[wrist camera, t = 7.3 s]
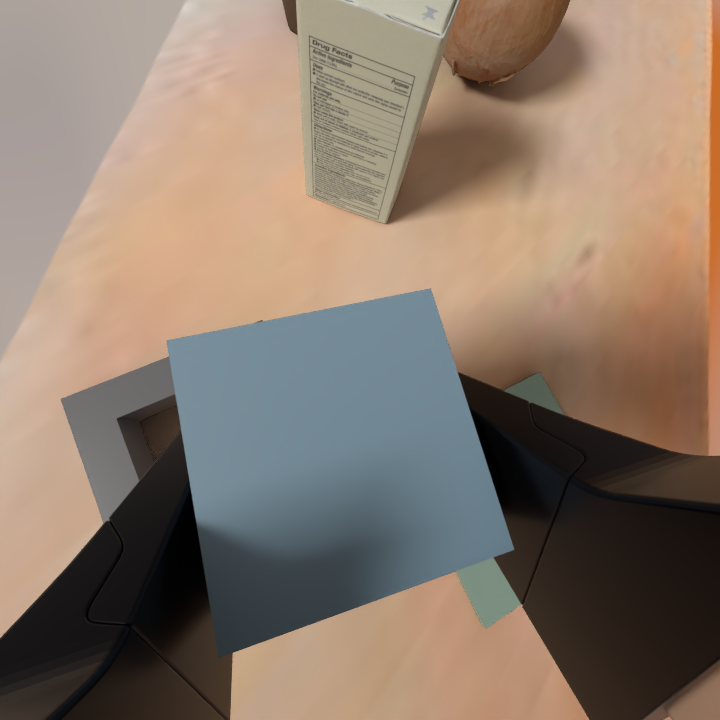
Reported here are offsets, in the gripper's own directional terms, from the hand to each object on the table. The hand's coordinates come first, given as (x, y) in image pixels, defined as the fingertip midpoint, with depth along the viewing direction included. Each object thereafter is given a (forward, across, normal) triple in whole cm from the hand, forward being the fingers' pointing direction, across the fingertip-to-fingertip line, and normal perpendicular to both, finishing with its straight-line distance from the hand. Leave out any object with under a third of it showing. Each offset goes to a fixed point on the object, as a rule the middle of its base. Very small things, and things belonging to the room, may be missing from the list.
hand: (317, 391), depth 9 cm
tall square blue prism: (+4, 0, +6) cm, 7 cm away
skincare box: (+20, -7, -2) cm, 21 cm away
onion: (+27, -19, -8) cm, 34 cm away
